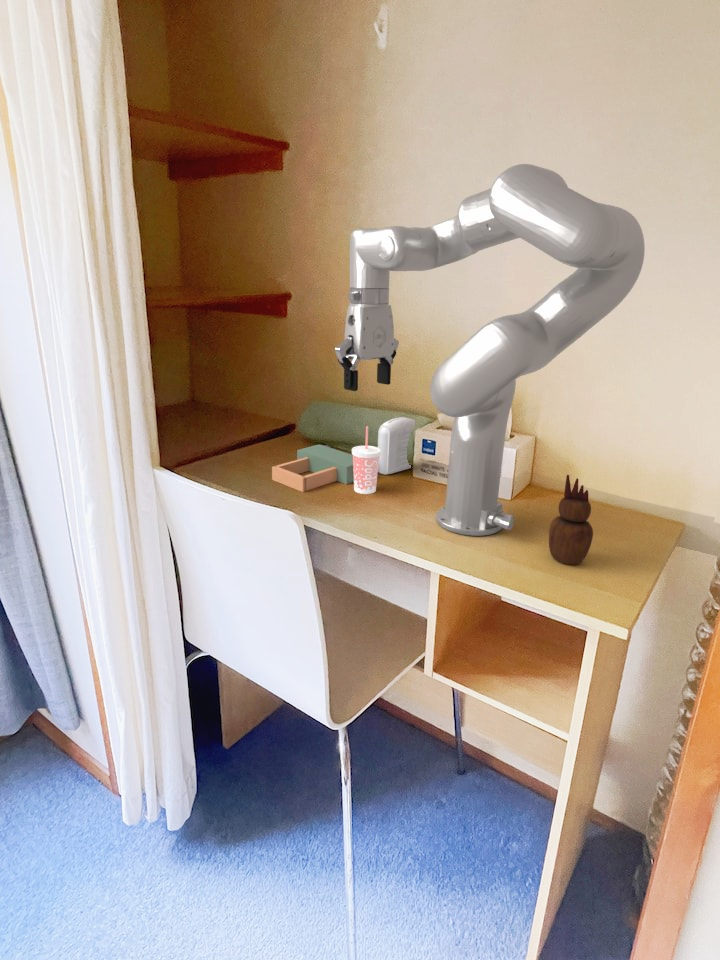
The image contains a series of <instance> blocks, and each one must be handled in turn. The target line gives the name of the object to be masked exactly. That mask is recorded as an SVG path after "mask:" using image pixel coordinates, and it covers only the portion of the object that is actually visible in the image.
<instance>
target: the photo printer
mask: <svg viewBox="0 0 720 960" xmlns="http://www.w3.org/2000/svg"><path fill="white" fill-rule="evenodd" d="M415 422H416V421H415V419H413V418H409V417H405V416H403V417H402V416H401V417H400V416H399V417H395V418H391V419H389V420H387V421H385V422H383V424H381V425H380V426H379V428H378V430H377V431H378V433H377V434H378V435H377V447H378V448H380V449H381V454H380V456H379V464H378V473H379V474H381V475H391V474H394V473H399V472H402V471H405V470H409V469H412V468H411V465H409V463H408V460H407V445H408V441H409V436H410V433H411V431H412V430H413V428H414V427H415Z"/></svg>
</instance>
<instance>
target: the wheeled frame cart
mask: <svg viewBox="0 0 720 960" xmlns="http://www.w3.org/2000/svg"><path fill="white" fill-rule="evenodd" d="M296 451H297V452H296V454H297V455H296V458H297V459H295V460H292V461H288V462H284V463H280V464H277V465H274V466H271V480H272V481H274V482H276V483H280V484H281V485H283V486H287V487H289V488H292V489H294V490H296V491H299V492H302V493H304V492H307V491H310V490H313V489H316V488H320V487H322V486H326V485H328V484H332V483H334V482H338V483H342V484H344V485H348V484H352V483H354V472H353V454H352V453H348V452H345V451H342V450H339V449H335V448H334V447H333V448H332V447H331V446H330V445H329V444H326V445H325V444H324V445H323V444H321V443H320V444H315V445H311V446H308V447H304V448H301V449H297V450H296ZM306 472H311V473H309V474H306V475H301V474H303V473H306Z"/></svg>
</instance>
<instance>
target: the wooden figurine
mask: <svg viewBox="0 0 720 960" xmlns="http://www.w3.org/2000/svg"><path fill="white" fill-rule="evenodd" d="M564 486H565V487H564V493H563V497H562V498H561V499H560V500H559V501H560V502H559V504H558V514H559V515H557V516H556V517H554V519H553V520H552V521H551V522H550V525H549V531H548V548H549V552H550V556H551V557H552V558H553V559H554V560H555V561H557V562H559V563H562V564H565V565H579V564H581V563H582V562H583V561H584V559H585V558H586V557H587V555H588V552H589V550H590V548H591V546H592V542H593V537H594V529H593V527H592V525H591V523H590V522H589V521H588V519H589V517H590V515H591V513H592V505H591V503H590V500H589V490H588V489H586V490H585V491H584V487H585V486H584V485H583V484H581V485H580V488H579V478H578V477H577V478H576V479H575V482H574V484H573V486H572V487H573V488H572V487H571V480H570V475H569V474H566V478H565V485H564ZM571 488H572V489H571Z"/></svg>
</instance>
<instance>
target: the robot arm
mask: <svg viewBox="0 0 720 960" xmlns="http://www.w3.org/2000/svg"><path fill="white" fill-rule="evenodd" d="M456 214H457V215H456V216H453V217H452V218H449V219H448V220H445V221H442V222H439V223H436V224H434V225H431V226H427V227H416V226H404V225H403V226H401V225H391V226H387V227H383V228H374V227H373V228H371V227H369V228H368V227H367V228H366V227H365V228H357V229H356V228H355V229H354V230H353V231H351V233H350V236H349V237H350V239H349V240H350V241H349V242H350V243H349V244H350V245H349V293H348V294H347V298H348V299H349V305H348V306H347V312H346V319H345V326H344V340H343V341H341V342H340V343H339V344H338V345H337V346H336V347H335V348H334V352H335V354H336V357H337V361H338V363H339V364H340V367H341V369H342V370H343V389H344V390H346V391H351V392H357V391H358V390H359V387H358V386H359V371H358V369H357V368H358V365H359V363H360V362H361V360H362V361H370V360H376V359H377V360H378V362H379V363H378V362H377V365H376V367H377V368H376V382H377V383H378V384H382V385H387V386H388V385H391V375H392V373H391V372H392V365H393V364H394V359H395V357H396V356H397V350H398V347H399V345H400V343H399V342H400V341H399V340H397V339H396V338H395V331H394V330H395V329H394V317H393V310H392V305H390V304H389V303H390V272H391V271H392V272H424V271H425V272H426V271H430V270H434V269H437V268H440V267H443V266H447V265H450V264H453V263H456V262H458V261H461V260H464V259H466V258H468V257H470V256H472V255H475V254H476V253H479V252H480V251H483V250H485V249H489V248H491V247H495V246H497V245H501V244H504V243H507V242H510V241H513V240H517V239H522V240H524V241H525V242H526V243H528V244H530V245H532V246H534V247H535V248H537V249H538V250H539V251H541V252H543V253H544V254H546V255H548V256H549V257H551V258H553V259H554V260H556V261H557V262H560V263H562V264H564V265H567V266H569V267H570V268H576V270H574V272H573V273H571V274H570V275H569V276H567V277H565V278H564V279H563V280H562V281H560V282H559V283H557V284H556V285H555V286H554V287H553V288H552V289H551V290H550V291H548V293H546V295H544V296H543V297H542V298H541V299H539V300H538V301H537V302H536V303H535V304H533V305H532V306H531V307H529V308H528V309H526V310H525V311H522V312H520V313H517V314H508V315H507V314H506V315H503V316H500V317H497V318H495V319H493V320H491V321H489V322H487V324H485V325H484V326H482V327H481V328H480V329H478V330H477V331H476V332H475V333H474V334H473V335H472V336H470V338H468V339H467V340H466V341H465V342H463V344H462V345H460V347H458V349H456V350H455V351H454V352H453V353H451V355H450V356H449V357H447V358H446V359H445V360H444V361H442V363H441V364H440V365H439V366H438V368H437V369H436V370H435V371H434V374H433V376H432V378H431V381H430V387H429V393H430V398H431V401H432V403H433V406H434V407H435V408H436V409H437V410H438V411H439V412H440V413H442V414H443V415H445V416H447V417H451V418H453V422H452V428H451V436H450V445H449V446H450V447H449V448H450V449H449V457H448V459H449V460H448V471H447V483H446V493H445V494H446V495H445V496H446V497H445V505H444V506H443V507H441V508H440V509H439V510H437V512H436V513H435V514H436V515H435V520H436V523H437V524H438V525H439V526H440V527H441V528H443V529H445V530H447V531H449V532H452V533H455V534H460V535H465V536H472V537H473V536H475V537H476V536H477V537H479V536H480V537H481V536H483V537H484V536H489V535H494V534H496V533H498V532H500V531H502V529H505V530H507V531H511V530H512V529H513V526H514V523H515V522H514V519H515V515H512V514H510V513H505V512H504V511H503V503H502V502H500V501H499V491H500V484H501V483H500V482H501V474H502V467H503V457H504V456H503V455H504V448H505V442H506V433H507V426H508V421H509V417H510V416H509V415H510V411H511V408H512V406H513V405H512V404H513V401H514V396H515V394H516V393H515V392H516V384H517V383H516V382H517V379H518V378H520V377H522V376H526V375H529V374H532V373H535V372H538V371H540V370H541V369H544V367H546V366H547V365H548V364H550V362H552V361H553V360H554V359H555V358H556V357H558V356H559V355H560V354H561V353H562V352H564V351H565V350H566V349H567V348H569V347H570V346H571V345H572V344H574V343H575V342H576V341H578V340H579V339H580V338H581V337H582V336H584V335H585V334H586V333H588V331H589V330H590V329H592V328H593V327H594V326H596V325H597V324H598V323H599V322H600V321H601V320H603V319H605V317H607V316H608V315H609V314H610V313H611V312H612V311H614V309H616V307H618V306H619V305H620V304H621V303H622V302H623V301H624V300H625V298H627V296H629V293H630V292H631V291H632V289H633V288H634V286H635V284H636V283H637V280H638V279H639V276H640V275H641V271H642V268H643V265H644V259H645V239H644V233H643V230H642V226H641V225H640V223H639V221H638V220H637V219H636V217H635V216H634V214H632V213H630V212H629V210H626V209H624V208H621V207H618V206H615V205H612V204H605V203H600V202H597V201H595V200H593V199H591V198H589V197H587V196H585V195H584V194H581V193H579V192H577V191H575V190H574V189H571V188H569V187H568V184H567V182H566V180H564V178H563V177H562V175H560V174H559V173H558V172H556V171H554V170H551V169H549V168H544V167H540V166H537V165H535V164H529V163H521V164H516V165H512V166H511V167H508V168H507V169H505V170H503V172H501V173H500V174H498V176H497V178H496V179H495V180H494V182H493V184H492V185H491V188H488V189H486V190H483V191H480V192H478V193H475V194H473V195H469V196H467V197H465V198H464V199H463V200H462V201H461V202H460V204H459V206H458V208H457V213H456ZM356 369H357V370H356ZM498 501H499V502H498Z"/></svg>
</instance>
